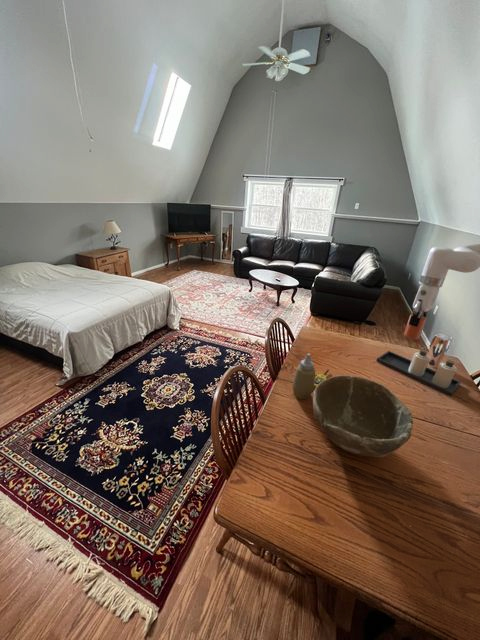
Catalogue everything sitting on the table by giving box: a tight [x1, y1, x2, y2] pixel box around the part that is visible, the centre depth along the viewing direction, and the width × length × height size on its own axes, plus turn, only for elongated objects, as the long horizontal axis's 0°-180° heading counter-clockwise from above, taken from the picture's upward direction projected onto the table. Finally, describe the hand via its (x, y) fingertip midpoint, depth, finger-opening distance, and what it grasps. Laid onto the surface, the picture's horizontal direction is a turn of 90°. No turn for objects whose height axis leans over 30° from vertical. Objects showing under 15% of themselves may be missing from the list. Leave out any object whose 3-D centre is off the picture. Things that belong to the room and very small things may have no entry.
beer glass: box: [427, 332, 454, 369], centre depth 121 cm, size 7×7×15 cm
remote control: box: [314, 369, 330, 390], centre depth 111 cm, size 5×2×15 cm
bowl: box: [312, 374, 414, 458], centre depth 81 cm, size 28×27×15 cm
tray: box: [376, 350, 462, 397], centre depth 117 cm, size 30×12×2 cm, turn 39°
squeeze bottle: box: [291, 353, 316, 400], centre depth 98 cm, size 8×8×18 cm
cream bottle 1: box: [408, 348, 430, 376], centre depth 115 cm, size 6×6×11 cm
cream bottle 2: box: [432, 359, 458, 388], centre depth 109 cm, size 6×6×11 cm
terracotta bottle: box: [403, 311, 428, 340], centre depth 110 cm, size 6×6×11 cm
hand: (416, 323), depth 109 cm, fingers closed on terracotta bottle, 5 cm apart
